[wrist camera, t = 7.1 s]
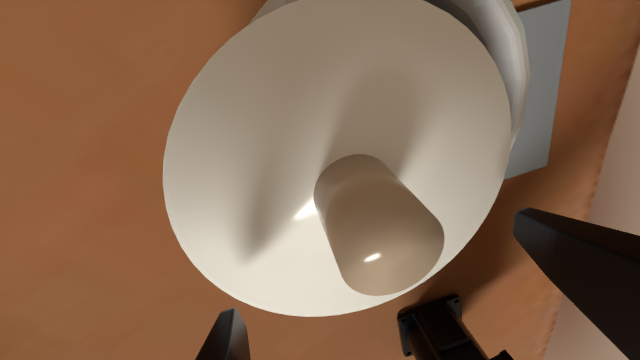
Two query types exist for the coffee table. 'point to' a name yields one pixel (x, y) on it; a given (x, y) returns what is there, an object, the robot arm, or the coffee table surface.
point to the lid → (336, 154)
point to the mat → (540, 84)
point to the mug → (485, 43)
